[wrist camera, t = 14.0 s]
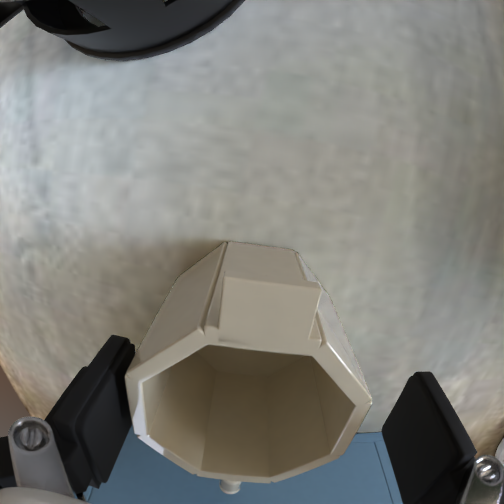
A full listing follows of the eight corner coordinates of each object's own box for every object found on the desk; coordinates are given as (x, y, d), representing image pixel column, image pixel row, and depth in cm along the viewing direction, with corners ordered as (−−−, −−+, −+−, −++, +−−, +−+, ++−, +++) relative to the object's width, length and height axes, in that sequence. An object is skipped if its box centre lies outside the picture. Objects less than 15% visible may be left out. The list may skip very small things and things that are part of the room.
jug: (181, 204, 12) (113, 260, 6) (348, 227, 12) (417, 299, 6) (174, 397, 15) (147, 492, 9) (296, 411, 15) (307, 508, 10)
